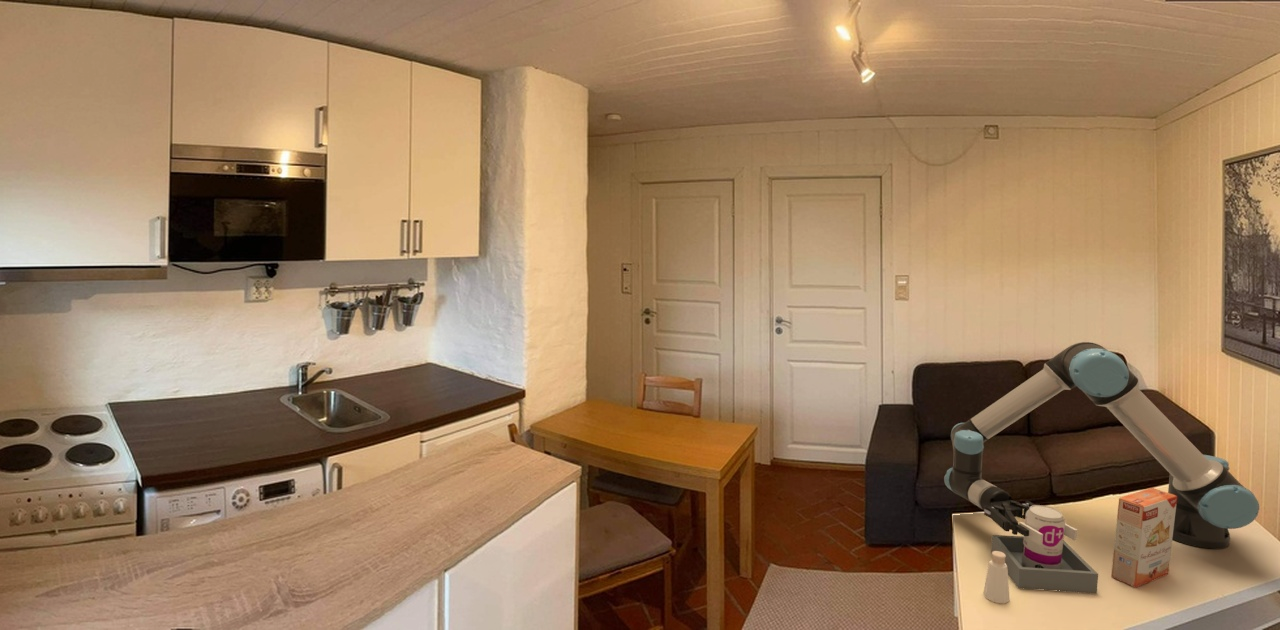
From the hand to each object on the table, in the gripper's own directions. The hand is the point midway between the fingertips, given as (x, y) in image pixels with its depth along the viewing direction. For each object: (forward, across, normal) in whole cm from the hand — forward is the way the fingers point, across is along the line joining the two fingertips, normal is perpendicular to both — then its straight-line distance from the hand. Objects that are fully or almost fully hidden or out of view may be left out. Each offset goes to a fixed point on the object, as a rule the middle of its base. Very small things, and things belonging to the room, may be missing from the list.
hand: (1058, 537), depth 149 cm
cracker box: (+2, -22, -12) cm, 25 cm away
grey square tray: (-5, 0, -12) cm, 12 cm away
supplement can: (-5, 0, -10) cm, 11 cm away
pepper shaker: (+3, +19, -12) cm, 22 cm away
